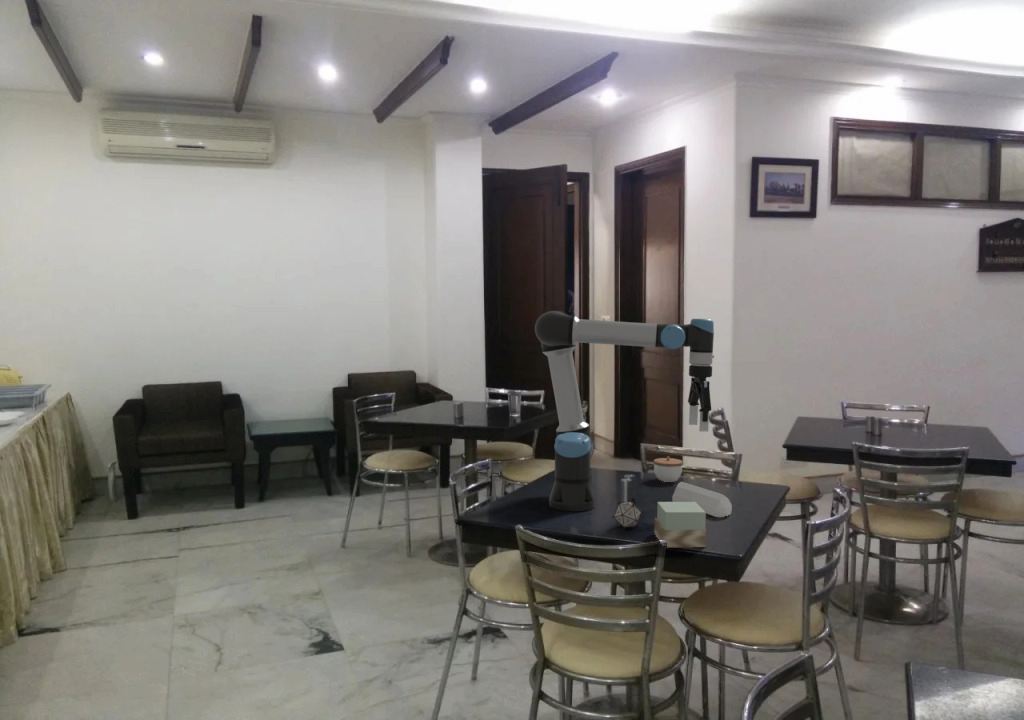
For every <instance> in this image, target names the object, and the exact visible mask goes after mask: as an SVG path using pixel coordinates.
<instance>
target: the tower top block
mask: <svg viewBox="0 0 1024 720" xmlns="http://www.w3.org/2000/svg"><path fill="white" fill-rule="evenodd" d="M656 511H657V512H656V513H657V516H656V518H657V519H658V521H659V522H660V524H661V525H662V526H663V528H664V529H665V530H706V521H707V520H706V516H707V514H706V512H705V511H704V510H703V509H702V508H701V507H700V506H699V505H698V504H697V503H696V502H672V501H657V510H656Z"/></svg>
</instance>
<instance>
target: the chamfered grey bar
mask: <svg viewBox="0 0 1024 720" xmlns="http://www.w3.org/2000/svg"><path fill="white" fill-rule="evenodd" d="M676 485H677V486H676V487H675V489H674V491H673V492H674V493H673V494H672V496H671V498H672V499H671V502H696V503H697V504H698V505H699V506H700V507H701V508H702V509H703V510H704V511H705V512H706V515H710V516H712V517H715V518H725V516H727V517H729V516H730V515H731V514H732V509H733V506H732V503H731V501H730V499H729V498H728V497H727V496H726V495H724V494H722V493H720V492H716V491H713V490H710V489H706V488H704V487H700V486H697V485H694V484H691V483H689V482H688V483H687V482H683V481H680V482H679V483H677V484H676ZM728 515H729V516H728Z"/></svg>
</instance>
